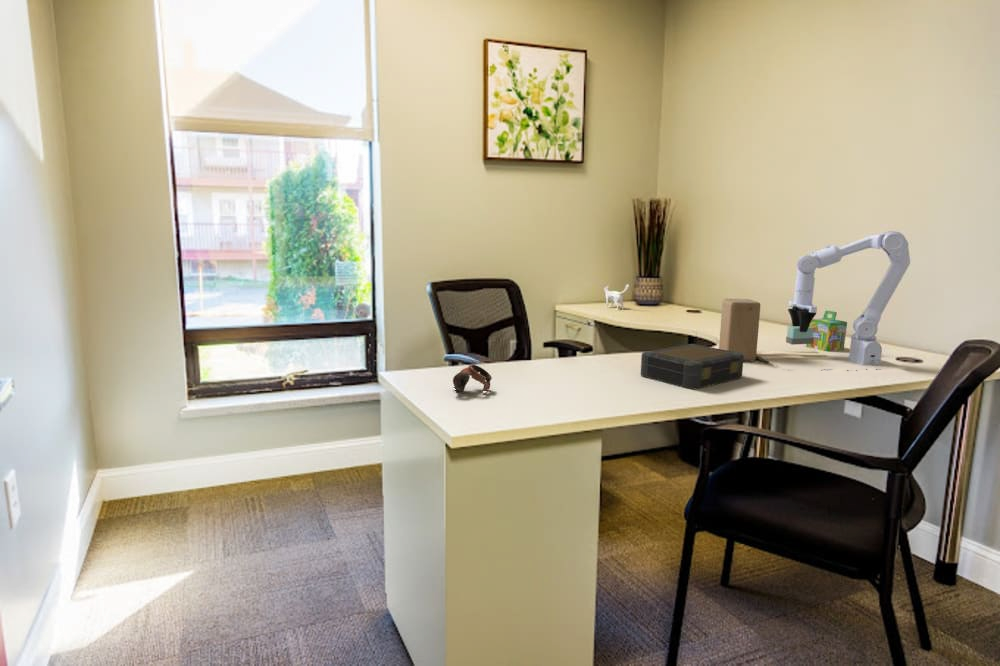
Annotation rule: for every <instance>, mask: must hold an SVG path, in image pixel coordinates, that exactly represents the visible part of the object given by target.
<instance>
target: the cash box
mask: <svg viewBox="0 0 1000 666" xmlns="http://www.w3.org/2000/svg"><path fill="white" fill-rule="evenodd" d="M743 359H744V355H743V354H741V353H737V352H732V351H727V350H722V349H719V348H716V347H710V346H704V345H700V344H696V343H689V344H682V345H677V346H676V345H675V346H670V347H669V346H668V347H664V348H659V349H653V350H647V351H643V352H642V353H641V358H640V360H641V363H640V376H641V377H642V376H643V378H646V379H649V378H650V380H653V379H654V380H653V381H657V380H658V382H661V381H662V382H661V383H665V382H666V383H665V384H669V383H670V385H672V384H674V385H673V386H676V385H678V387H680V386H682V387H681V388H684V387H686V388H685V389H688V388H692V389H691V390H694V389H693V388H698V389H701V388H700V387H702V388H705V387H704V386H706V387H709V386H708V385H710V386H713V385H712V384H715V385H717V384H716V383H719V384H722V383H721V382H723V383H726V382H725V381H727V382H730V381H729V380H731V381H734V379H735V380H739V379H738V378H740V379H741V378H743V368H744V361H743Z"/></svg>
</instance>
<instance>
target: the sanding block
mask: <svg viewBox="0 0 1000 666" xmlns="http://www.w3.org/2000/svg"><path fill="white" fill-rule="evenodd" d="M813 330H814V328H813V327H809V328H808V330H807V332H800V326H787V332H786V333H787V334H786V337H785V343H786V344H790V345H806V344H814V338H813Z"/></svg>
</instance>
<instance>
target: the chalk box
mask: <svg viewBox="0 0 1000 666" xmlns="http://www.w3.org/2000/svg"><path fill="white" fill-rule="evenodd" d="M837 314H838V313H837V312H836V311H833V310H825V311H824V314H823V317H822V318H813V319H812V321H811V323H810V325H809V327H813V328H814V330H813V338H814V344H805V348H810V349H814V350H819V351H823V352H834V351H835V352H836V351H844V350H845V342H846V337H847V335H846V334H847V326H848V322H847V321H845V320H841V319H840V320H839V319H836V317H837ZM828 315H831V317H828Z"/></svg>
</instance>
